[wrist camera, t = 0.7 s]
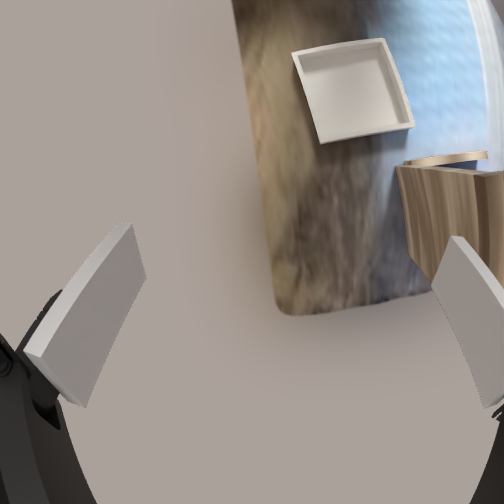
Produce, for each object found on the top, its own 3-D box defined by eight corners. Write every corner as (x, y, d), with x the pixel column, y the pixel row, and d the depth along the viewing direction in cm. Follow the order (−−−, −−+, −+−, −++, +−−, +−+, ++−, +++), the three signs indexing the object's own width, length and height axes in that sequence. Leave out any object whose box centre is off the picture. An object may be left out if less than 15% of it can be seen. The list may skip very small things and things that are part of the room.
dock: (408, 257, 35) (477, 359, 14) (393, 162, 32) (483, 167, 11) (485, 240, 31) (581, 311, 10) (476, 150, 28) (590, 157, 7)
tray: (293, 60, 31) (291, 52, 28) (380, 45, 27) (383, 37, 24) (320, 144, 33) (320, 143, 31) (408, 129, 30) (415, 126, 27)
